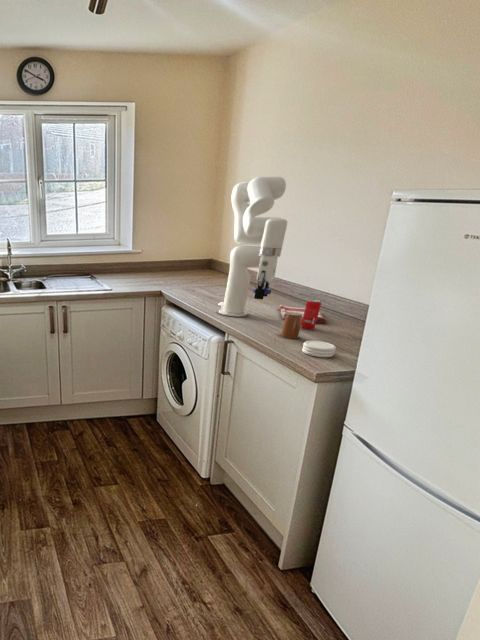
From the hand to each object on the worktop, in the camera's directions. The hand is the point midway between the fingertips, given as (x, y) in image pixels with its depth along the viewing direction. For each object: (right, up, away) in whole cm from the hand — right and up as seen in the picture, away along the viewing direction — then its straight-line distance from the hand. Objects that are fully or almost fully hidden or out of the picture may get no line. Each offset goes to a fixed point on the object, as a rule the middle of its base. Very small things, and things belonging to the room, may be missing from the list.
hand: (260, 297), depth 184 cm
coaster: (+11, -24, -19) cm, 32 cm away
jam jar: (+12, -16, +1) cm, 20 cm away
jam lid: (0, +3, -1) cm, 3 cm away
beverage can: (+27, -11, +12) cm, 31 cm away
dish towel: (+36, -3, +31) cm, 47 cm away
